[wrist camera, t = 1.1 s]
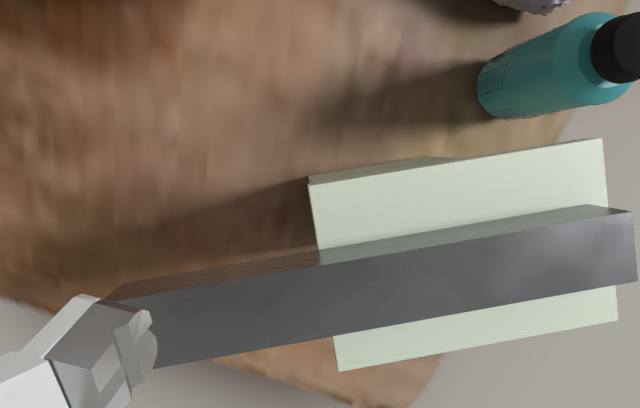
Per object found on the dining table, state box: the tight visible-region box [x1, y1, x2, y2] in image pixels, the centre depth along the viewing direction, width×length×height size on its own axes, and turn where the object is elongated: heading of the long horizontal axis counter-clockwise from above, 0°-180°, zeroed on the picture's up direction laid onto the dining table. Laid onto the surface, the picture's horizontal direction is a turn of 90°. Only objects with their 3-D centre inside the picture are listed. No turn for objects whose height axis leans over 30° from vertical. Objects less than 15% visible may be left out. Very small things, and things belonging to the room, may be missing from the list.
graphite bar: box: [105, 204, 638, 369], centre depth 21 cm, size 22×3×3 cm, turn 99°
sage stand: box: [307, 138, 618, 372], centre depth 36 cm, size 14×9×26 cm, turn 99°
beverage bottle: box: [477, 12, 640, 121], centre depth 39 cm, size 6×7×20 cm
